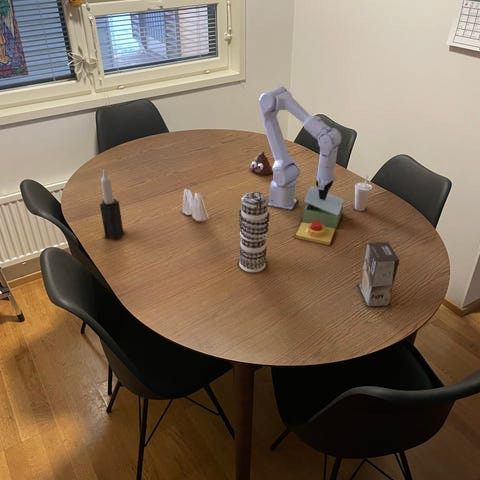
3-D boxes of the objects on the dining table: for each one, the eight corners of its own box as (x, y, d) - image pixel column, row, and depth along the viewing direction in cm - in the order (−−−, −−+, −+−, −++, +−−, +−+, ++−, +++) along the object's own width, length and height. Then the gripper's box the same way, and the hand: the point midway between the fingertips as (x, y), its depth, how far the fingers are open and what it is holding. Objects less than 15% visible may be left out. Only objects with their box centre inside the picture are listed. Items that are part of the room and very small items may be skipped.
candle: (124, 232, 162) (115, 167, 148) (116, 240, 158) (106, 174, 144) (112, 229, 163) (101, 165, 150) (104, 237, 159) (92, 171, 145)
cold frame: (302, 222, 169) (303, 209, 166) (309, 207, 178) (310, 195, 175) (336, 229, 166) (338, 216, 163) (341, 213, 175) (343, 201, 172)
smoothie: (368, 213, 175) (374, 180, 167) (351, 211, 176) (356, 178, 168) (367, 205, 180) (374, 172, 172) (351, 203, 181) (356, 171, 173)
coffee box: (389, 305, 132) (400, 261, 124) (367, 306, 132) (377, 261, 123) (378, 284, 140) (388, 241, 131) (358, 285, 140) (366, 242, 131)
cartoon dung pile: (275, 170, 204) (276, 150, 199) (265, 177, 198) (266, 157, 193) (255, 165, 208) (256, 145, 203) (245, 172, 202) (246, 152, 197)
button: (309, 230, 160) (310, 225, 159) (312, 224, 163) (312, 220, 162) (320, 232, 159) (320, 227, 158) (322, 226, 162) (322, 222, 161)
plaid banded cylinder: (257, 276, 142) (261, 207, 129) (232, 266, 146) (233, 198, 133) (272, 261, 149) (276, 193, 135) (247, 252, 153) (249, 185, 139)
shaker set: (209, 221, 168) (208, 195, 162) (200, 225, 166) (199, 199, 160) (190, 208, 176) (189, 182, 170) (181, 212, 174) (179, 186, 168)
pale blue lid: (303, 201, 165) (304, 200, 164) (310, 187, 174) (311, 185, 173) (337, 216, 163) (338, 215, 162) (343, 201, 172) (344, 199, 171)
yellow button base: (295, 237, 161) (296, 230, 159) (301, 224, 168) (302, 217, 166) (329, 245, 157) (330, 238, 155) (334, 231, 164) (335, 224, 163)
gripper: (334, 175, 153) (329, 210, 161) (342, 158, 165) (337, 191, 172) (313, 171, 155) (309, 206, 163) (322, 154, 167) (318, 188, 174)
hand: (322, 198), depth 168 cm, fingers closed
